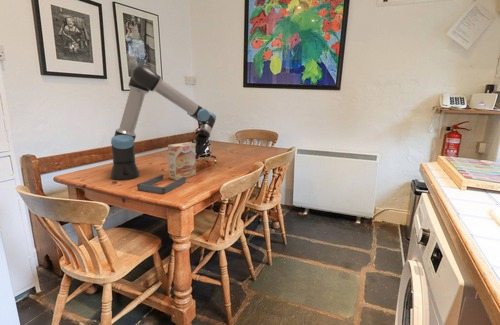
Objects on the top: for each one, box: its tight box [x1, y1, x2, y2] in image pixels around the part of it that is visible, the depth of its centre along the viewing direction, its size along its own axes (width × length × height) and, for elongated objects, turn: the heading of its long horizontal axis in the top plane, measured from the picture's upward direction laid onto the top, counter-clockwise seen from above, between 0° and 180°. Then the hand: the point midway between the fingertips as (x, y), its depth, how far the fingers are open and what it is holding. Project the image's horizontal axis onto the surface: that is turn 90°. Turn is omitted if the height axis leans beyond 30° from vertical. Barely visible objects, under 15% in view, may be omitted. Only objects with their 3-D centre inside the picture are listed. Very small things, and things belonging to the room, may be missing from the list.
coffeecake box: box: [167, 141, 197, 181], centre depth 166 cm, size 15×7×20 cm, turn 143°
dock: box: [137, 173, 186, 195], centre depth 150 cm, size 15×20×3 cm
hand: (192, 163), depth 176 cm, fingers closed
